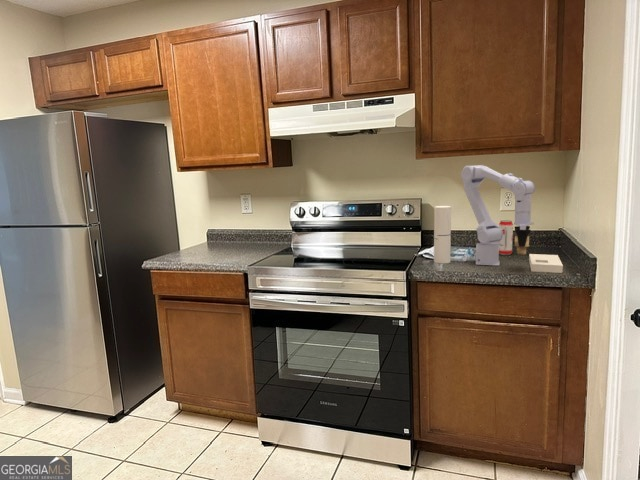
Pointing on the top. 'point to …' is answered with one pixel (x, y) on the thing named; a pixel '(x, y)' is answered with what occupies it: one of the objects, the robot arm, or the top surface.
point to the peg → (520, 249)
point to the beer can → (506, 237)
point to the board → (545, 263)
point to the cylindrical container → (442, 234)
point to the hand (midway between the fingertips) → (521, 245)
